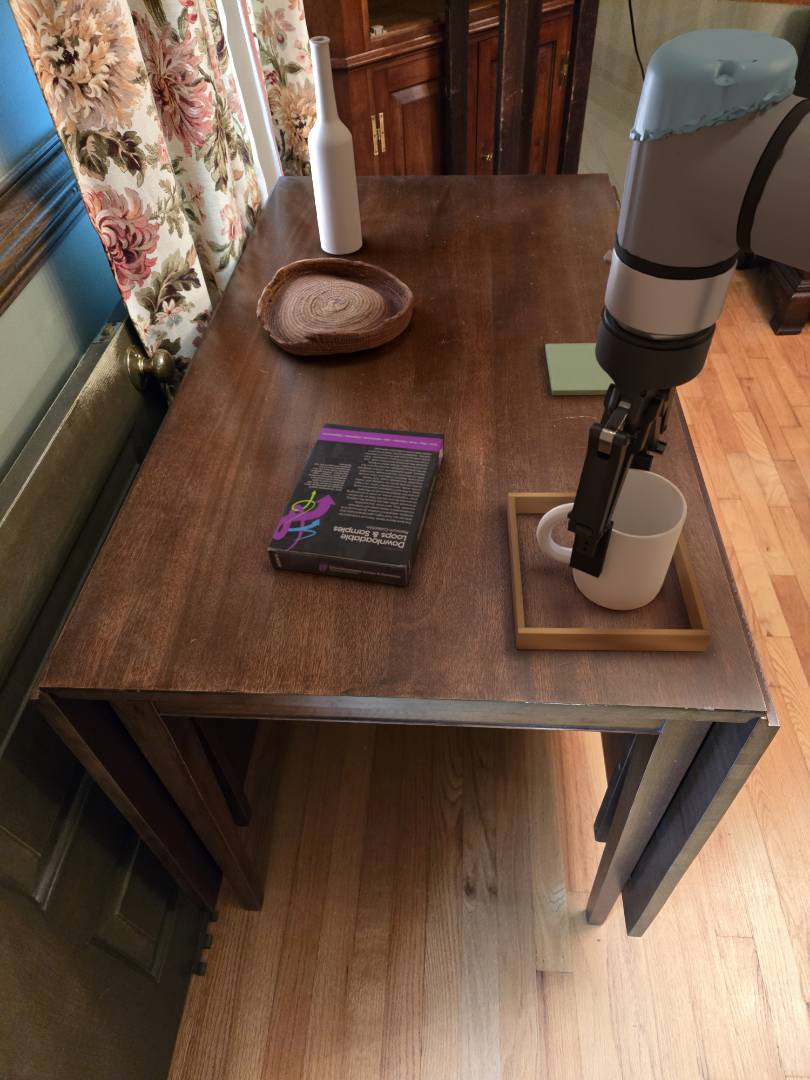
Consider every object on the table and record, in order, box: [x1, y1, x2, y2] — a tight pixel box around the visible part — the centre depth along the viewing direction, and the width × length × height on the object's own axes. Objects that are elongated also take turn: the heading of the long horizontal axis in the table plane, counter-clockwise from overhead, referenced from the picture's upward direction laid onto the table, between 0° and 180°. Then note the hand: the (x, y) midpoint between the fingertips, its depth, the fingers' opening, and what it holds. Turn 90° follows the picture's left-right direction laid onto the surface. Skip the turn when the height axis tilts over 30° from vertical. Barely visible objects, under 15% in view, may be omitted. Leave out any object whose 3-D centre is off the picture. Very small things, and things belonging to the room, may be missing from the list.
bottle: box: [307, 35, 363, 256], centre depth 106 cm, size 7×7×28 cm
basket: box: [256, 257, 415, 357], centre depth 99 cm, size 22×20×5 cm
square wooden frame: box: [506, 492, 713, 652], centre depth 68 cm, size 16×17×2 cm
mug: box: [536, 469, 688, 611], centre depth 65 cm, size 12×8×10 cm
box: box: [266, 422, 445, 587], centre depth 75 cm, size 14×4×20 cm
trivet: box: [544, 342, 615, 396], centre depth 90 cm, size 10×10×1 cm
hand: (605, 535), depth 66 cm, fingers closed on mug, 8 cm apart
